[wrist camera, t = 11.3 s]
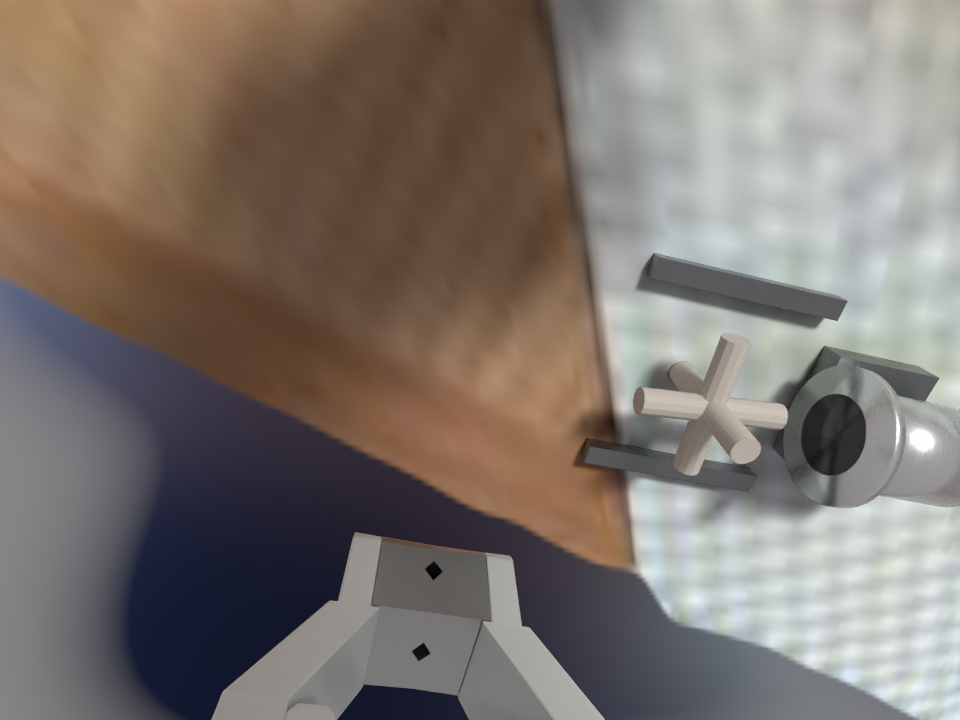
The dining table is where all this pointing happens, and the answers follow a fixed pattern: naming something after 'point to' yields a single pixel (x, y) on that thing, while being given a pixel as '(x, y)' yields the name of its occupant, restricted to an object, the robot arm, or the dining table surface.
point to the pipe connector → (712, 408)
